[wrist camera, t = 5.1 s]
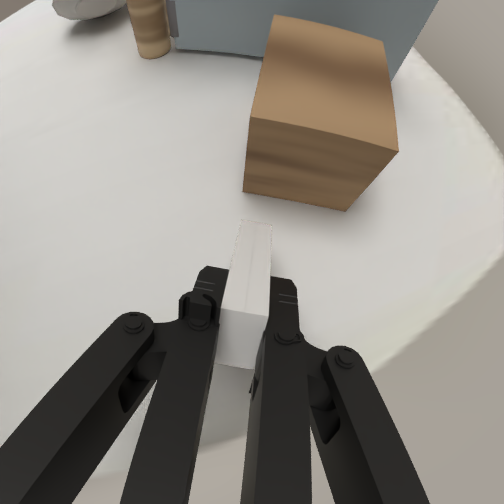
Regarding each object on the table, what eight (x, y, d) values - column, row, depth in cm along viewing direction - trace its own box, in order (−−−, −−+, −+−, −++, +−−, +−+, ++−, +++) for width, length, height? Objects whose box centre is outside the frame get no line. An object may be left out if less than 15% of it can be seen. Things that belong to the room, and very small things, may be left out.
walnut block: (344, 212, 21) (398, 151, 13) (242, 192, 21) (249, 116, 13) (347, 112, 23) (382, 41, 15) (262, 93, 23) (274, 14, 15)
